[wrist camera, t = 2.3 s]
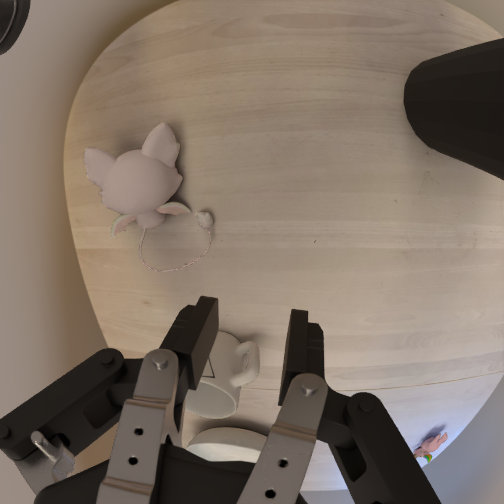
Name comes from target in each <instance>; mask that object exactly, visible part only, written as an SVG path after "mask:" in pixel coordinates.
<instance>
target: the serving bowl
mask: <svg viewBox="0 0 504 504" xmlns="http://www.w3.org/2000/svg"><path fill="white" fill-rule="evenodd" d="M266 440H267V437H266V436H264V435H262V434H259V433H256V432H253V431H249V430H245V429H239V428H230V427H220V428H212V429H208V430H205V431H203V432H201V433H199V434H197V435H196V436H195V437H194V438H193V439H192V440H191V441H190V442H189V444H188V446H187V448H186V450H188V451H190V452H191V453H193V454H195V455H197V456H199V457H201V458H204V459H206V460H208V461H247V462H253V463H256V462H257V460H258V458H259V455H260V453H261V451H262V449H263V446H264V444H265V442H266Z"/></svg>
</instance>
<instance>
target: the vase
mask: <svg viewBox="0 0 504 504" xmlns="http://www.w3.org/2000/svg"><path fill="white" fill-rule="evenodd" d="M404 105H405V109H406V114H407V118H408V121H409V122H410V124H411V126H412V128H413V130H414V131H415V133H416V135H417V136H418V137H419V138H420V139H421V140H422V141H423V142H424V143H425V144H426V145H427V146H428V147H430V148H432V149H434V150H436V151H438V152H440V153H443V154H445V155H448V156H450V157H453V158H455V159H458V160H460V161H463V162H465V163H467V164H470V165H472V166H474V167H477V168H479V169H481V170H483V171H485V172H488V173H490V174H492V175H494V176H496V177H498V178H500V179H502V180H504V38H502V39H497V40H493V41H489V42H485V43H482V44H478V45H474V46H471V47H467V48H464V49H460V50H457V51H454V52H451V53H448V54H444V55H441V56H438V57H435V58H432V59H430V60H427V61H424V62H422V63H420V64H419V65H418V66H417V67H416V68H415V69H413V70H412V71H411V73H410V75H409V78H408V80H407V82H406V84H405V92H404Z"/></svg>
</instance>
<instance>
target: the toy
mask: <svg viewBox="0 0 504 504" xmlns="http://www.w3.org/2000/svg"><path fill="white" fill-rule="evenodd" d="M179 151H180V144H179V142H176V139H175V135H174V132H173V130H172V128H171V127H170V126H169V125H168V124H167V123H160V124H159V125H157V126H156V127H155V128H154V129H153V130H152V131H151V132H150V134H149V135H148V137H147V138H146V140H145V142H144V144H143V147H142V149H136V150H131V151H128V152H126V153H123V154H122V155H120V156H119V157H118V158H116V157H114V156H113V155H111V154H110V153H108V152H106V151H104V150H102V149H98V148H93V147H90V148H86V150H85V152H84V162H85V166H86V168H87V172H86V174H87V177H88V178H89V180H90V181H91V182H93V183H94V184H96V185H97V186H98V187H100V188H101V190H102V191H100V192H99V194H100V195H101V196H102V204H103V205H104V206H105V207H107V208H109V209H111V210H114V211H116V212H119V213H122V214H121V215H120V216H118V217H117V218H116V219H115V220H114V222H113V224H112V228H111V237H112V238H113V237H115V236H116V235H117V234H118V233H119V232H121V231H126V226H127V225H128V224H129V223H131V222H132V221H134V220H136V222H137V224H138V225H139V226H140V227H141V228H144V232H143V235H142V238H141V242H140V247H139V256H140V258H141V261H142V262H143V264H144V265H145V266H147V265H146V264H145V262H144V261H143V259H142V256H141V247H142V243H143V239H144V236H145V232H146V229H153V228H156V227H158V226H160V225H161V224H162V223H163V222H164V220H165V217H166V216H165V213H170V214H173V215H175V216H176V215H177V214H180V213H191V212H192V211H191V210H190V209H189V208H188V207H186V206H185V205H184V204H182V203H179V202H168V203H166V201H167V200H169V199H170V198H171V196H172V195H173V194H174V193H175V192H176V191H177V189H178V188H179V186H180V184H181V181H182V178H183V177H182V175H180V174H178V172H177V169H176V168H175V161H176V159H177V157H178V154H179ZM195 215H196V217H197V218H198V222H199V224H200V226H201V227H202V228H204V229H208V233H209V238H210V242H209V246H208V249H209V247H210V244H211V235H210V231H209V229H210V228H211V227H212V225H213V219H212V217H211V215H210V214H209V213H208V212H207V213H205V212H197V213H196V214H195ZM208 249H207V250H206V252H207V251H208ZM206 252H205V253H206ZM205 253H204V254H205ZM204 254H203V255H204ZM203 255H202V256H203ZM202 256H200V257H199V258H198V259H197V260H199V259H200V258H201V257H202ZM197 260H195V261H193V262H192V263H194V262H196V261H197ZM192 263H190V264H192ZM190 264H188V265H185V266H183V267H180V268H177V269H171V270H155V269H152V268H150V267H149V266H147V267H148V268H149V269H151V270H154V271H161V272H168V271H174V270H178V269H181V268H184V267H187V266H189V265H190Z"/></svg>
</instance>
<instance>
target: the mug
mask: <svg viewBox="0 0 504 504" xmlns="http://www.w3.org/2000/svg"><path fill="white" fill-rule="evenodd" d="M247 352H249V356H248V365H247V367H246V369H245V370H244V371H243V355H244V354H245V353H247ZM259 369H260V360H259V347H258V346H257V344H256V343H255V342H253V341H247V342H244V343H242V344H241V343H240V342H239V341H238V340H237V339H236V338H235V337H234V336H232V335H231V334H229V333H226V332H222V331H218V333H217V337H216V339H215V342H214V345H213V347H212V350H211V353H210V355H209V358H208V361H207V363H206V366H205V368H204V371H203V374H202V376H201V379H200V382H199V384H198V387H197V390H196V391H194V390H190V389H189V390H188V392H187V395H186V397H185V399H186V404H185V410H187V411H188V412H191V413H193V414H195V415H198V416H201V417H205V418H211V419H222V418H227V417H229V416H231V415H233V414H234V413H235V411H236V410H237V407H238V402H239V396H240V390H241V386H242V385H246V384H248V383H250V382H252V381H253V380H254V379H255V378H256V377H257V376H258V373H259Z"/></svg>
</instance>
